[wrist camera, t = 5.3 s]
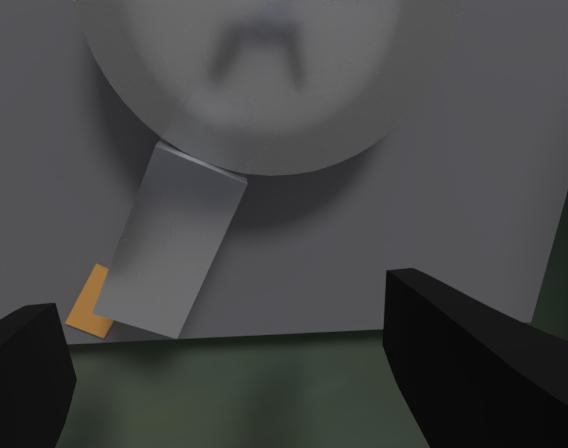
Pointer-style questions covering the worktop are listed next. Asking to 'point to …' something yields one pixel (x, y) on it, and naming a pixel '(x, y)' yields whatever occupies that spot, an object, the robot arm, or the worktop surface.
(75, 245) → the base plate
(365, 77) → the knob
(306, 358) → the worktop surface
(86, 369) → the worktop surface
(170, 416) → the worktop surface
